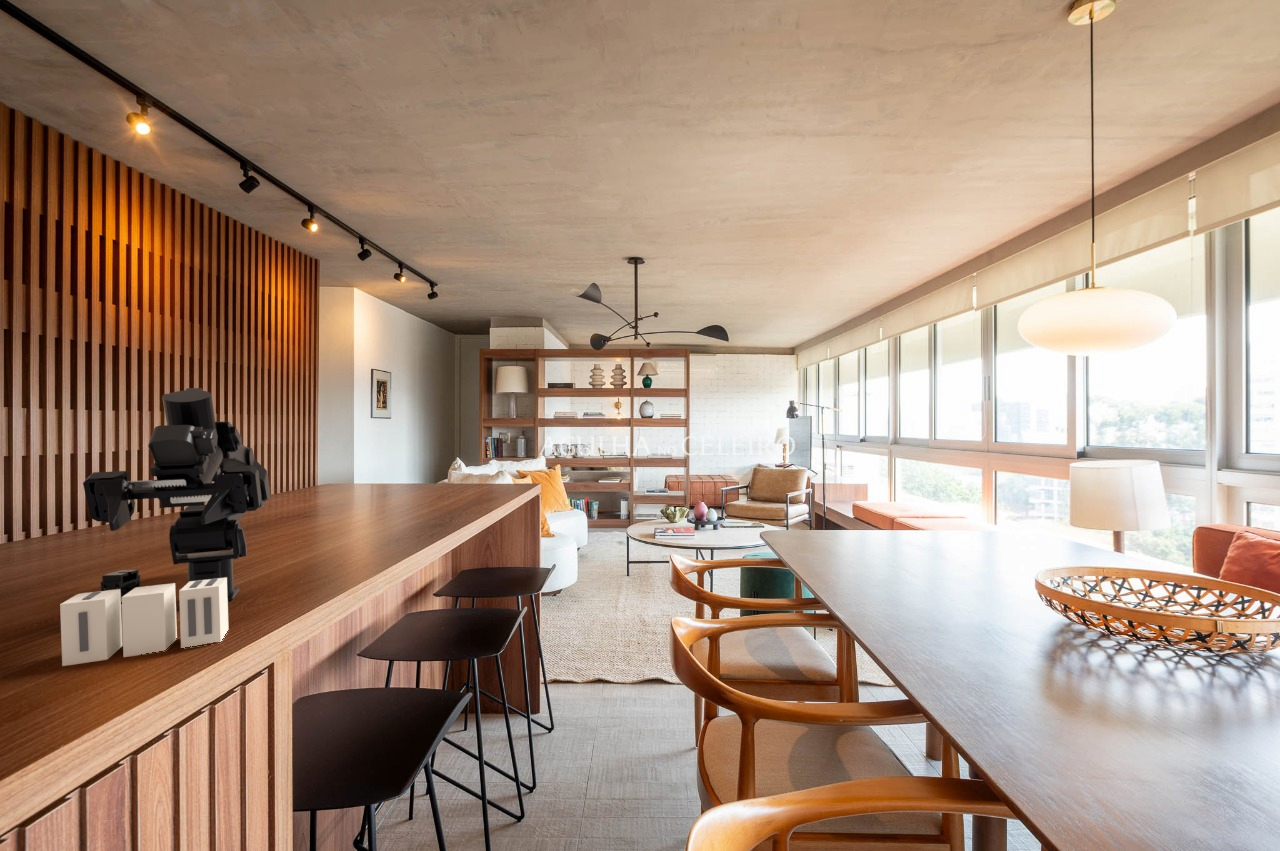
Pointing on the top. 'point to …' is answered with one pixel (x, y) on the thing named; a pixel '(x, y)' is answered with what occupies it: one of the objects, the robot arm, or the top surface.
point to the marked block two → (203, 612)
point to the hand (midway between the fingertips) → (158, 523)
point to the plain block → (149, 619)
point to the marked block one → (91, 627)
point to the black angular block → (121, 581)
